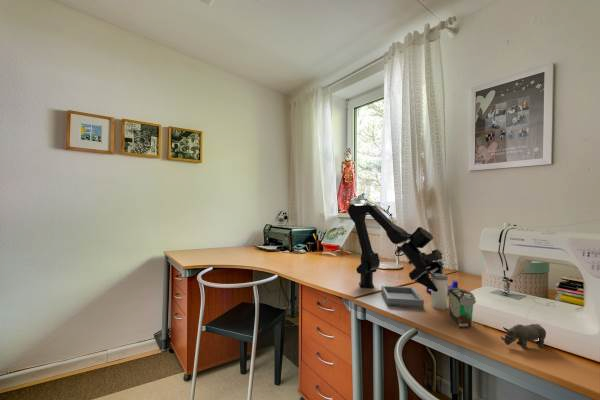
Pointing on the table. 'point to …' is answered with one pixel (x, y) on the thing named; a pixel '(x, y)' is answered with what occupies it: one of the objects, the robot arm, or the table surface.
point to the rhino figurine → (525, 335)
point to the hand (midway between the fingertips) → (442, 288)
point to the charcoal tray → (402, 297)
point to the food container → (461, 307)
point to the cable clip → (454, 285)
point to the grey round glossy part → (439, 291)
